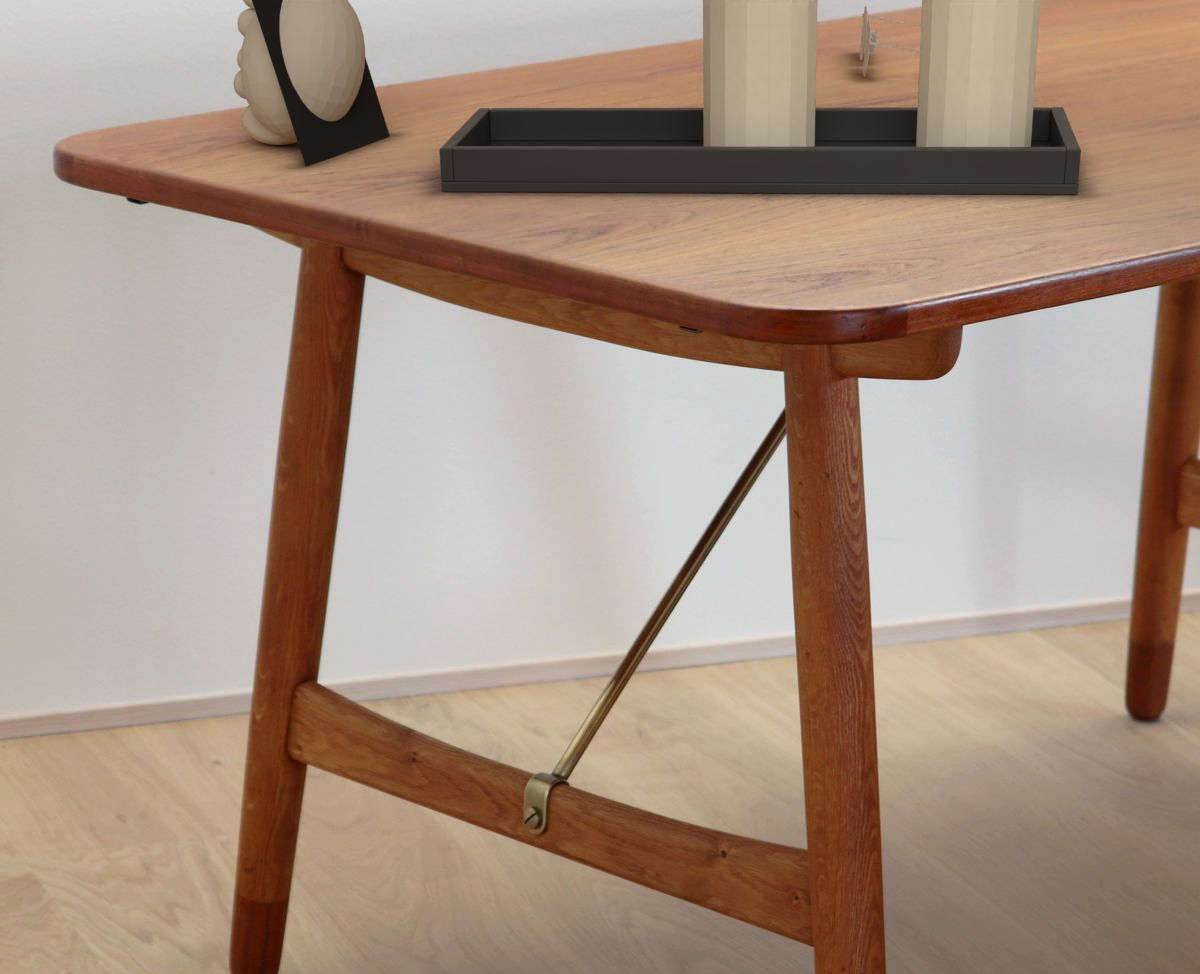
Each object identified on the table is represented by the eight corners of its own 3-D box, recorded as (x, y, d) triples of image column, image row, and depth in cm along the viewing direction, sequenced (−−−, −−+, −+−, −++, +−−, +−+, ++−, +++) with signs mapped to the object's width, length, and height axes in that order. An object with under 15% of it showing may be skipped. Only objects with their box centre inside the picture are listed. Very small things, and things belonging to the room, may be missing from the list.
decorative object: (219, 190, 128) (306, 159, 136) (339, 157, 122) (422, 127, 130) (154, -4, 124) (247, -24, 132) (274, -47, 119) (364, -65, 127)
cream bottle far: (1051, 170, 117) (1072, -118, 110) (976, 188, 114) (992, -109, 107) (967, 153, 122) (982, -124, 115) (892, 170, 118) (902, -115, 111)
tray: (1060, 148, 123) (1063, 106, 122) (1077, 194, 111) (1081, 149, 110) (481, 147, 128) (479, 107, 127) (441, 191, 116) (438, 148, 115)
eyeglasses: (857, 52, 157) (863, 1, 156) (956, 58, 157) (963, 8, 155) (863, 83, 145) (869, 28, 143) (970, 90, 144) (978, 35, 143)
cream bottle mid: (836, 169, 119) (844, -114, 112) (755, 187, 115) (757, -105, 108) (762, 152, 124) (764, -120, 117) (681, 169, 120) (679, -111, 113)
